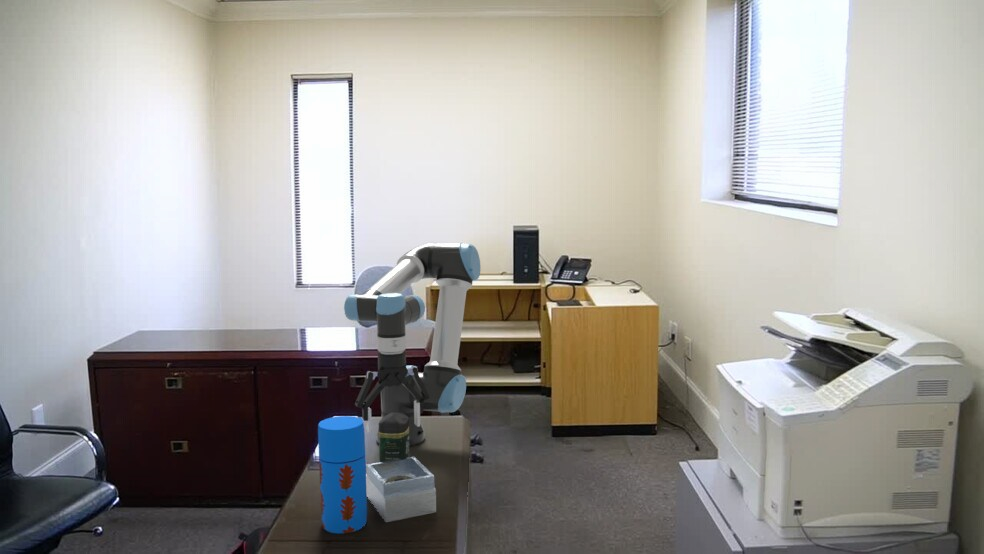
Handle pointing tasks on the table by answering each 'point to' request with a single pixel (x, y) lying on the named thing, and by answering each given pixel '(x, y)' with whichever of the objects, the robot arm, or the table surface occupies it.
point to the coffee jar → (393, 437)
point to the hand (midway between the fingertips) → (393, 428)
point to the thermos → (342, 474)
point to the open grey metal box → (400, 488)
